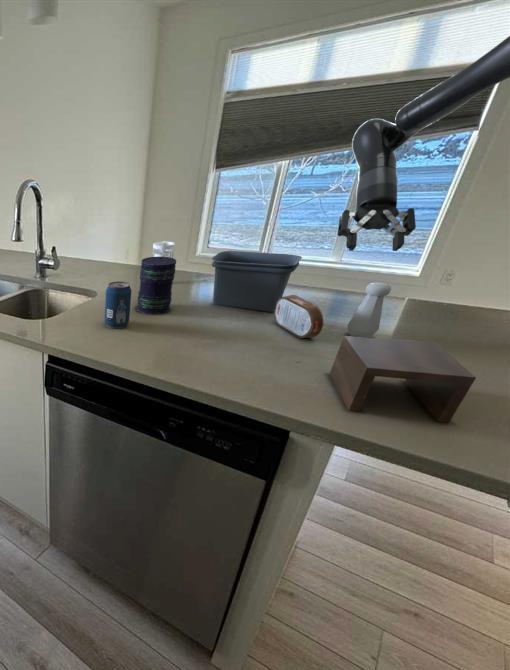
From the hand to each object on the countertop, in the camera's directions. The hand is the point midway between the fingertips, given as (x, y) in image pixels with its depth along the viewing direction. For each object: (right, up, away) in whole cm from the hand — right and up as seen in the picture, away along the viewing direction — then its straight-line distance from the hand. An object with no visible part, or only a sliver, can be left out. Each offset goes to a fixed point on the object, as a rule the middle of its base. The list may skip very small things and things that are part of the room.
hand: (374, 249), depth 98 cm
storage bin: (-16, -8, +26) cm, 31 cm away
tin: (-15, -19, +7) cm, 26 cm away
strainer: (-33, +4, +50) cm, 60 cm away
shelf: (-18, -35, -21) cm, 45 cm away
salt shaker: (-2, -21, +1) cm, 21 cm away
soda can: (-57, -16, +20) cm, 63 cm away
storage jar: (-43, -9, +28) cm, 53 cm away
